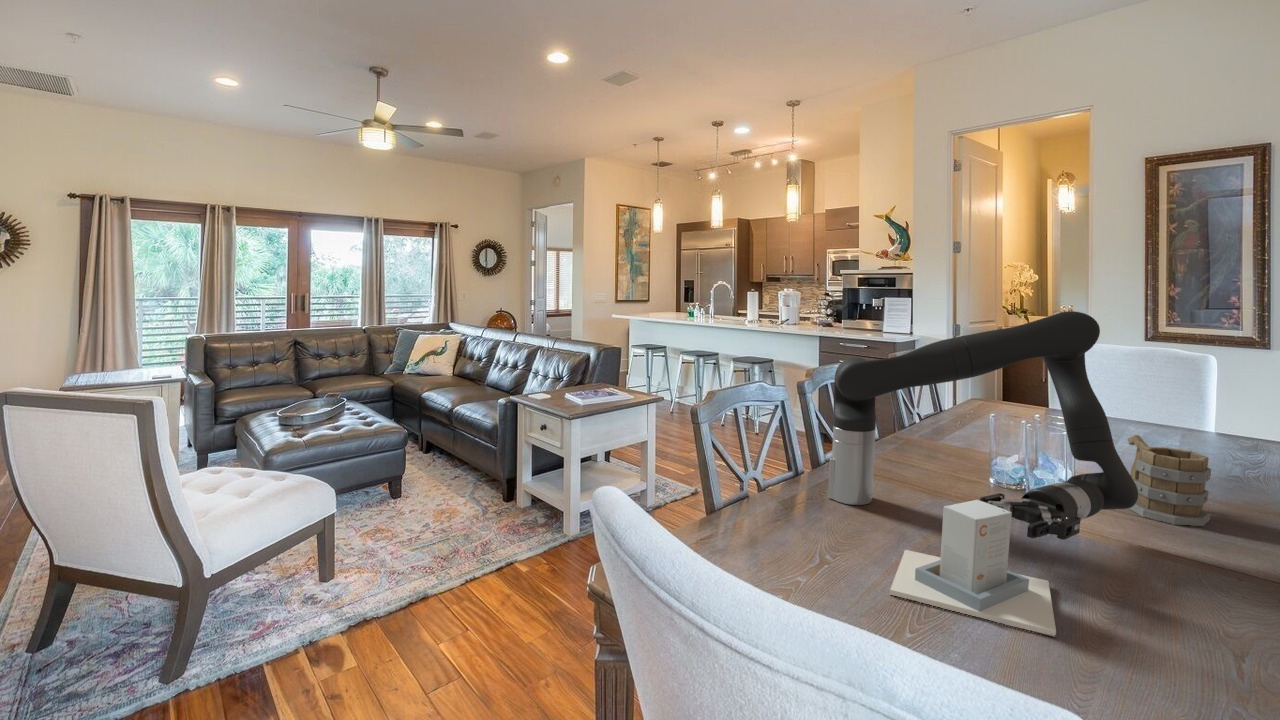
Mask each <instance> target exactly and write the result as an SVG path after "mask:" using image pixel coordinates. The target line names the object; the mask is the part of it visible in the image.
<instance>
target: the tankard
mask: <svg viewBox="0 0 1280 720" xmlns="http://www.w3.org/2000/svg"><path fill="white" fill-rule="evenodd" d="M1127 442H1128V444H1129V445H1131V446H1132V445H1133V446H1134V445H1135V447H1136V451H1135V457H1134V461H1133V463H1132V464H1131V465H1132V466H1131V468H1130V473H1129V474H1130V475H1131V477H1132V479H1133V480H1134V482H1135V484H1136V486H1137V489H1138V499H1137V502H1136V504H1135V505H1134V506H1133V507H1131V508H1129V509H1128V510H1130V509H1131V511H1132V512H1133V511H1134V512H1133V513H1135V512H1136V513H1135V514H1137V513H1138V514H1137V515H1139V516H1140V515H1141V517H1142V516H1143V517H1142V518H1144V517H1147V518H1146V519H1148V518H1151V519H1150V520H1152V519H1155V520H1154V521H1156V520H1160V521H1163V522H1162V523H1164V522H1167V523H1166V524H1168V523H1171V524H1170V525H1172V524H1175V525H1174V526H1182V525H1191V526H1190V527H1198V526H1202V527H1204V526H1206V524H1208V522H1210V521H1211V520H1210V519H1211V513H1209V512H1207V511H1205V510H1203V506H1204V504H1206V503H1207V502H1208V501H1209V500H1208V499H1209V490H1207V489H1206V483H1207V482H1208V481H1209V480H1211V476H1212V468H1209V466H1208V465H1209V457H1208V456H1206V455H1203V454H1201V453H1199V452H1196V451H1192V450H1186V449H1179V448H1175V447H1174V448H1173V447H1170V448H1169V447H1165V446H1164V447H1163V446H1149V445H1148V444H1147V443H1146V442H1145V440H1144V439H1143V438H1142V437H1141V436H1140V435H1139V434H1134V435H1132V436H1130V437H1128V438H1127ZM1209 520H1210V521H1209ZM1160 521H1159V522H1160Z"/></svg>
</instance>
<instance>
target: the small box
mask: <svg viewBox="0 0 1280 720" xmlns="http://www.w3.org/2000/svg"><path fill="white" fill-rule="evenodd" d="M1011 516H1012V512H1011V511H1010V510H1008V511H1007V510H1005V509H1002V508H999V507H997V506H994V505H991V504H988V503H985V502H983V501H980V499H974V500H970V501H964V502H958V503H955V504H949V505H944V506H943V511H942V527H941V529H942V530H941V542H940V543H941V544H940V547H941V548H940V557H941V559H940V575H939V577H941V578H944V579H946V580H948V581H950V582H952V583H954V584H956V585H958V586H961V587H963V588H965V589H967V590H969V591H971V592H973V593H975V594H981V593H983V592H986V591H988V590H990V589H993V588H995V587H998V586H1000V585H1003V584H1005V583H1006V580H1007V570H1008V565H1009V552H1010V541H1011V540H1010V539H1011V527H1012V520H1011Z"/></svg>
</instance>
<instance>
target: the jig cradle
mask: <svg viewBox="0 0 1280 720" xmlns="http://www.w3.org/2000/svg"><path fill="white" fill-rule="evenodd" d="M940 559H941V556H936V555H931V554H927V553H923V552H917V551H914V550H908V549H904V552H903V555H902V557H901V560H900V562H899V565H898V567H897V570H896V573H895V575H894V578H893V581H892V583H891V586H890V588H889V595H890V594H891V595H895V596H899V597H904V598H908V599H912V600H916V601H919V602H923V603H927V604H930V605H934V606H937V607H941V608H945V609H948V610H952V611H956V612H960V613H964V614H968V615H972V616H976V617H981V618H984V619H989V620H993V621H997V622H1000V623H1004V624H1007V625H1011V626H1015V627H1019V628H1024V629H1027V630H1032V631H1037V632H1041V633H1047V634H1052V635H1056V636H1057V627H1056V621H1055V615H1054V609H1053V602H1052V597H1051V590H1050V589H1051V588H1050V584H1049V580H1046V579H1042V578H1037V577H1033V576H1028V575H1023V574H1018V573H1016V572H1014V571H1011V570H1008V569H1007V580H1006V583H1005V584H1003V585H1000V586H998V587H995V588H993V589H990V590H988V591H986V592H983V593H981V594H975V593H973V592H971V591H969V590H967V589H965V588H963V587H961V586H958V585H956V584H954V583H952V582H950V581H948V580H946V579H944V578H941V577H939V575H940ZM937 607H936V608H937ZM948 610H947V611H948ZM952 611H951V612H952ZM956 612H955V613H956ZM960 613H959V614H960ZM964 614H963V615H964ZM968 615H967V616H968ZM972 616H971V617H972Z"/></svg>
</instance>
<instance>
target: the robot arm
mask: <svg viewBox="0 0 1280 720" xmlns="http://www.w3.org/2000/svg"><path fill="white" fill-rule="evenodd" d="M1100 334H1101V328H1100V325H1099V323H1098V321H1097V320H1096V319H1094V317H1092V316H1091V315H1090V314H1087V313H1084V312H1080V311H1076V310H1075V311H1074V310H1071V311H1063V312H1058V313H1055V314H1052V315H1049V316H1046V317H1043V318H1041V319H1040V318H1039V319H1037V320H1034V321H1031V322H1030V321H1029V322H1027V323H1024V324H1020V325H1015V326H1012V327H1004V328H997V329H994V330H987V331H982V332H977V333H971V334H965V335H960V336H955V337H951V338H946V339H942V340H937V341H935V342H930V343H929V344H925V345H924V346H920V347H918V348H916V349H914V350H911V351H908V352H906V353H903V354H901V355H897V356H892V357H886V358H879V359H872V360H871V359H870V360H867V359H865V358H862V357H854V356H853V357H849V358H846V359H844V360H843V361H842V362H841V363H840V364H839V365H838V366H837V368H836V370H835V372H834V381H833V382H834V385H833V429H832V431H833V432H832V450H831V452H832V455H831V457H830V458H829V464H828V465H829V468H828V491H827V499H830V500H834V501H836V502H839V503H841V504H845V505H852V506H853V505H854V506H863V505H869V504H870V503H872V501H873V485H874V483H873V481H874V467H875V466H874V463H875V446H876V445H875V444H876V425H877V416H876V397H879V396H883V395H886V394H888V393H889V394H890V393H892V392H896V391H899V390H900V391H901V390H903V389H909V388H916V387H923V386H930V385H937V384H943V383H949V382H950V383H951V382H955V381H960V380H961V381H962V380H964V379H965V380H966V379H972V378H975V377H981V376H982V375H985V374H989V373H991V372H994V371H998V370H1000V369H1003V368H1004V367H1008V366H1010V365H1011V366H1012V365H1013V364H1017V363H1018V362H1022V361H1025V360H1030V359H1034V358H1041V357H1042V359H1043V361H1044V364H1045V366H1046V369H1047V370H1048V373H1049V375H1050V379H1051V381H1052V383H1053V386H1054V389H1055V392H1056V395H1057V398H1058V402H1059V406H1060V409H1061V413H1062V418H1063V422H1064V427H1065V430H1066V435H1067V441H1068V444H1069V448H1070V451H1071V454H1072V455H1071V456H1072V457H1073V458H1074V459H1076V460H1077V461H1081V462H1091V463H1092V462H1093V463H1096V464H1097V465H1098V467H1100V469H1101V470H1102V472H1092V473H1080V474H1077V475H1073V476H1071V477H1069V478H1068V479H1067V480H1066V481H1062V482H1054V483H1050V484H1046V485H1043V486H1040V487H1035V488H1034V489H1033V488H1032V489H1031V490H1028V491H1026V493H1025V494H1023V496H1022V497H1021V498H1018V499H1011V498H1010V499H1009V498H1008V499H1007V498H1006V497H1005V496H1006V495H1005V494H1004V493H1001V492H1000V493H994V494H990V495H986V496H981V497H980V496H979V497H980V498H979V500H980V501H983V502H985V503H988V504H991V505H994V506H997V507H999V508H1002V509H1005V510H1007V511H1009V512H1012V516H1011V521H1019V522H1020V523H1027V524H1028V526H1027V531H1026V537H1028V538H1030V539H1036V538H1041V537H1043V536H1045V537H1052V536H1053V535H1054V536H1056V538H1057V539H1058V540H1059V539H1060V540H1061V541H1062V540H1067V539H1069V538H1071V537H1074V536H1076V535H1078V534H1079V533H1080V528H1081V521H1082V520H1084V519H1088V518H1090V517H1093V516H1095V515H1096V514H1098V513H1099V512H1100V511H1101V510H1102V511H1103V510H1104V511H1105V510H1126V509H1128V508H1131V507H1133V506H1134V505H1135V504H1136V502H1137V499H1138V489H1137V486H1136V484H1135V482H1134V480H1133V479H1132V477H1131V475H1130V473H1129V471H1128V469H1127V468H1126V466H1125V464H1124V462H1123V461H1122V459H1121V457H1120V455H1119V454H1118V451H1117V450H1116V447H1115V443H1114V440H1113V435H1112V431H1111V428H1110V424H1109V420H1108V417H1107V415H1106V412H1105V410H1104V408H1103V406H1102V404H1101V402H1100V400H1099V399H1098V396H1097V395H1096V393H1095V392H1094V390H1093V388H1092V386H1091V382H1090V380H1089V376H1088V373H1087V368H1086V353H1087V352H1089V351H1090V350H1091V349H1092V348H1094V345H1096V343H1097V341H1098V339H1099V337H1100ZM1005 498H1006V499H1005Z"/></svg>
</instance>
